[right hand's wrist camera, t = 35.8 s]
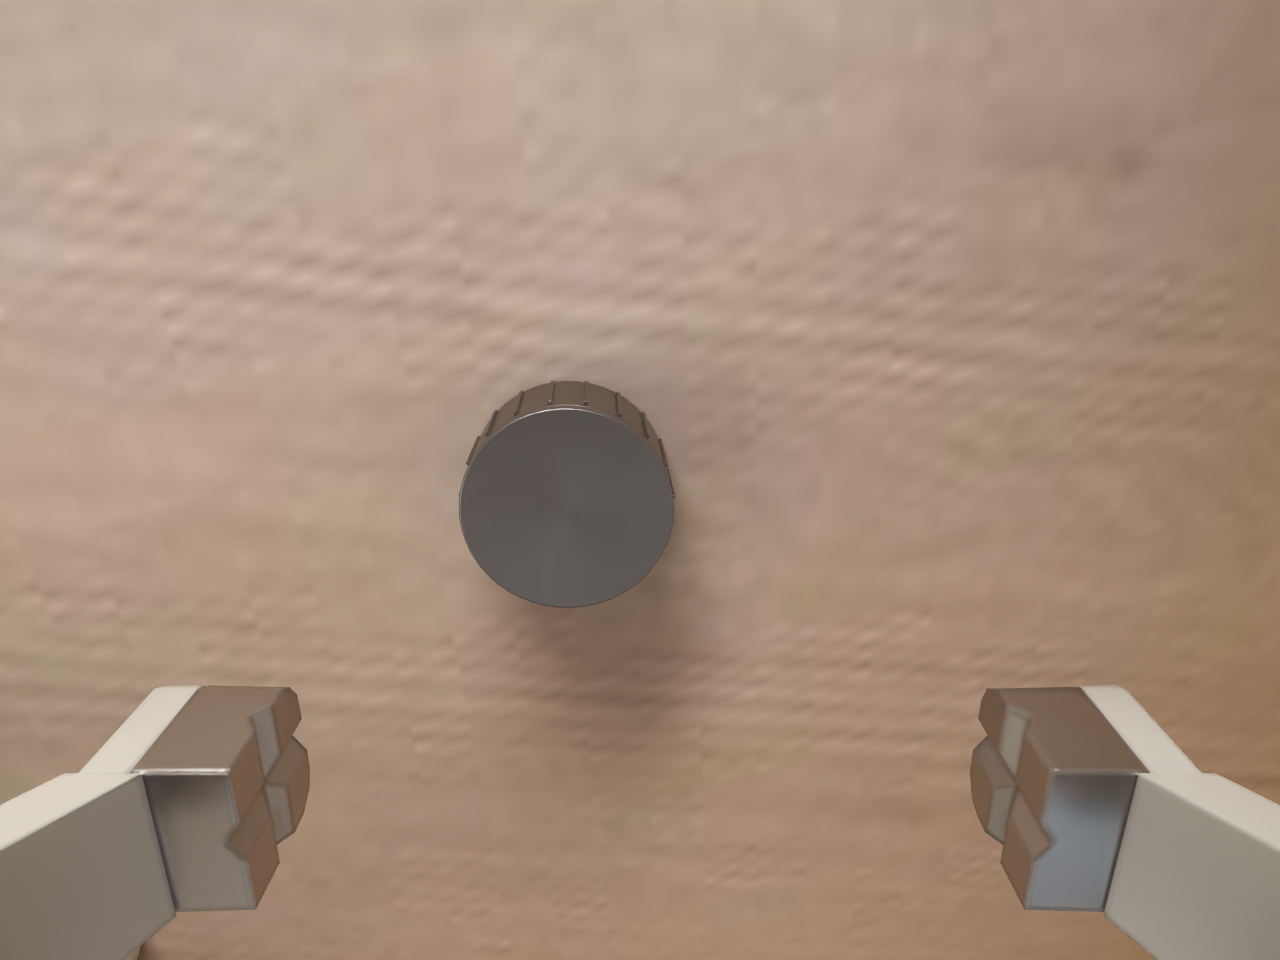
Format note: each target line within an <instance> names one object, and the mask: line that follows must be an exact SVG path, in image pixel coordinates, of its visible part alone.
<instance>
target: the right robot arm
mask: <svg viewBox="0 0 1280 960" xmlns="http://www.w3.org/2000/svg"><path fill="white" fill-rule="evenodd" d="M301 719H302V717H301V712H300V707H299V702H298V697H297V694H296V693H295V692H294V691H293V690H292V689H291V688H290V687H250V686H206V687H205V686H202V685H175V686H163V687H159V688H156V689H154V690H153V691H152V692H151V693H150V694H149V695H148V696H147V697H146V699H145V700H144V701H143V702H142V703H141V704H140V705H139V706H138V707H137V709H136V710H135V711H134V712H133V713H132V714H131V715H130V716H129V717H128V719H127V720H126V721H125V722H124V723H123V724H122V725H121V726H120V727H119V729H118V730H117V731H116V732H115V733H114V734H113V735H112V736H111V737H110V738H109V740H108V741H107V742H106V743H105V744H104V745H103V746H102V747H101V748H100V750H99V751H98V752H97V753H96V754H95V755H94V756H93V757H92V758H91V760H90V761H89V762H88V763H87V764H86V765H85V766H84V767H83V768H82V770H81V771H80V772H79V773H64V774H62V775H60V776H58V777H56V778H54V779H52V780H50V781H48V782H46V783H44V784H41V785H39V786H37V787H35V788H33V789H31V790H29V791H27V792H25V793H23V794H21V795H19V796H17V797H15V798H13V799H11V800H9V801H7V802H5V803H3V804H1V805H0V960H124V959H125V958H126V957H128V956H129V955H130V954H131V953H132V952H134V951H135V950H136V949H137V948H138V947H140V946H141V945H142V944H143V943H144V942H146V941H147V940H148V939H149V938H150V937H152V936H153V935H154V934H155V933H156V932H158V931H159V930H160V929H161V928H162V927H164V926H165V925H166V924H167V923H168V922H170V921H171V920H172V919H173V918H174V917H176V912H185V911H219V910H254V909H256V908H257V906H258V904H259V902H260V900H261V898H262V896H263V894H264V892H265V890H266V888H267V886H268V884H269V882H270V880H271V878H272V876H273V874H274V872H275V870H276V868H277V867H278V865H279V863H280V861H279V855H278V849H277V844H279V843H280V842H282V841H283V840H284V839H286V838H287V837H289V836H290V835H291V834H293V833H294V832H295V831H296V828H297V826H298V824H299V822H300V820H301V818H302V816H303V814H304V810H305V805H306V801H307V796H308V792H309V775H310V767H309V760H308V754H307V750H306V749H305V748H304V746H303V745H302V744H301V743H300V742H299V741H298V740H297V739H296V738H295V737H294V736H293V733H294V731H295V729H296V728H297V726H298V724H299V722H300V721H301ZM978 719H979V721H980V722H981V724H982V726H983V728H984V729H985V731H986V733H987V736H986V737H985V738H984V739H983V740H982V741H981V742H980V743H979V744H978V745H977V746H976V747H975V749H974V750H973V754H972V762H971V770H970V780H971V791H972V799H973V803H974V806H975V809H976V813H977V816H978V818H979V820H980V822H981V824H982V826H983V829H984V831H985V832H986V833H987V834H988V835H990V836H991V837H993V838H994V839H996V840H997V841H998V842H1000V843H1001V844H1003V849H1002V855H1001V861H1000V863H1001V865H1002V867H1003V868H1004V870H1005V872H1006V874H1007V876H1008V878H1009V880H1010V882H1011V884H1012V886H1013V888H1014V890H1015V892H1016V894H1017V896H1018V898H1019V900H1020V902H1021V904H1022V906H1023V908H1024V910H1059V911H1095V912H1104V916H1105V917H1106V918H1107V919H1108V920H1110V921H1111V922H1112V923H1113V924H1114V925H1116V926H1117V927H1118V928H1119V929H1120V930H1122V931H1123V932H1124V933H1125V934H1126V935H1128V936H1129V937H1130V938H1131V939H1132V940H1134V941H1135V942H1136V943H1137V944H1138V945H1140V946H1141V947H1142V948H1143V949H1144V950H1146V951H1147V952H1148V953H1149V954H1150V955H1152V956H1153V957H1154V958H1155V959H1156V960H1280V805H1279V804H1277V803H1275V802H1273V801H1271V800H1269V799H1267V798H1265V797H1263V796H1261V795H1259V794H1257V793H1255V792H1253V791H1251V790H1249V789H1247V788H1245V787H1242V786H1240V785H1238V784H1236V783H1234V782H1232V781H1230V780H1228V779H1226V778H1224V777H1222V776H1220V775H1218V774H1216V773H1201V772H1200V771H1199V770H1198V768H1197V767H1196V766H1195V765H1194V764H1193V763H1192V762H1191V761H1190V760H1189V758H1188V757H1187V756H1186V755H1185V754H1184V753H1183V752H1182V751H1181V750H1180V748H1179V747H1178V746H1177V745H1176V744H1175V743H1174V742H1173V741H1172V740H1171V739H1170V737H1169V736H1168V735H1167V734H1166V733H1165V732H1164V731H1163V730H1162V729H1161V727H1160V726H1159V725H1158V724H1157V723H1156V722H1155V721H1154V720H1153V719H1152V717H1151V716H1150V715H1149V714H1148V713H1147V712H1146V711H1145V710H1144V709H1143V707H1142V706H1141V705H1140V704H1139V703H1138V702H1137V701H1136V700H1135V699H1134V697H1133V696H1132V695H1131V694H1130V693H1129V692H1128V691H1127V690H1126V689H1124V688H1122V687H1119V686H1117V685H1096V686H1073V687H1046V688H990V689H987V690H986V692H985V694H984V696H983V698H982V700H981V705H980V711H979V717H978Z"/></svg>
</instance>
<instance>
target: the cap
mask: <svg viewBox="0 0 1280 960" xmlns="http://www.w3.org/2000/svg"><path fill="white" fill-rule="evenodd" d="M466 464H467V465H469V466H468V468H467V471H466V473H465V475H464V478H463V482H462V486H461V490H460V493H459V497H460V499H459V517H460V523H461V528H462V532H463V535H464V538H465V541H466V544H467V546H468V548H469V550H470V552H471V554H472V555H473V557H474V558H475V560H476V561H477V563H478V564H479V566H480V567H481V568H482V569H483V570H484V571H485V573H486V574H487V575H488V576H489V577H490V578H491V579H493V580H494V581H495V582H496V583H497V584H498V585H500V586H501V587H503V588H504V589H506V590H507V591H509V592H510V593H512V594H514V595H516V596H518V597H520V598H523V599H525V600H528V601H530V602H533V603H537V604H541V605H545V606H552V607H568V608H573V607H583V606H589V605H593V604H598V603H601V602H604V601H607V600H609V599H612V598H614V597H616V596H618V595H620V594H622V593H624V592H625V591H627V590H628V589H630V588H631V587H633V586H634V585H636V584H637V583H638V582H639V581H640V580H642V579H643V578H644V577H645V576H646V575H647V574H648V573H649V571H650V570H651V569H652V568H653V567H654V565H655V564H656V563H657V561H658V560H659V558H660V557H661V555H662V553H663V551H664V549H665V547H666V545H667V542H668V539H669V536H670V533H671V529H672V524H673V515H674V502H673V499H675V494H674V490H673V486H672V482H671V478H670V474H669V470H668V468H667V466H668V463H667V459H666V455H665V451H664V447H663V443H662V440H661V438H660V439H658V437H657V435H656V433H655V431H654V429H653V427H652V426H651V424H650V423H649V422H648V420H647V419H646V415H645V413H644V412H642V413H641V412H640V411H639V410H638V409H637V408H636V407H635V406H634V405H633V404H631V403H630V402H629V401H628V400H626V399H625V398H623V397H622V396H620V393H618V392H616V393H615V392H613V391H610V390H608V389H606V388H603V387H600V386H597V385H593V384H589V382H587V381H585V383H583V382H571V381H563V382H555V381H551V383H548V384H544V385H540V386H537V387H534V388H531V389H529V390H526V391H525V392H523V390H522V391H520V392H519V395H517V396H515V397H514V398H513V399H511V400H510V401H508V402H507V403H506V404H505V405H504V406H502V407H501V408H500V409H499V410H498V411H497V410H495V411H494V413H493V415H492V417H491V420H490V421H489V422H488V424H487V426H486V427H485V429H484V431H483V432H482V435H481V437H479V436H478V437H477V439H476V441H475V444H474V446H473V448H472V451H471V453H470V455H469V458H468V460H467V462H466Z"/></svg>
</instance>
